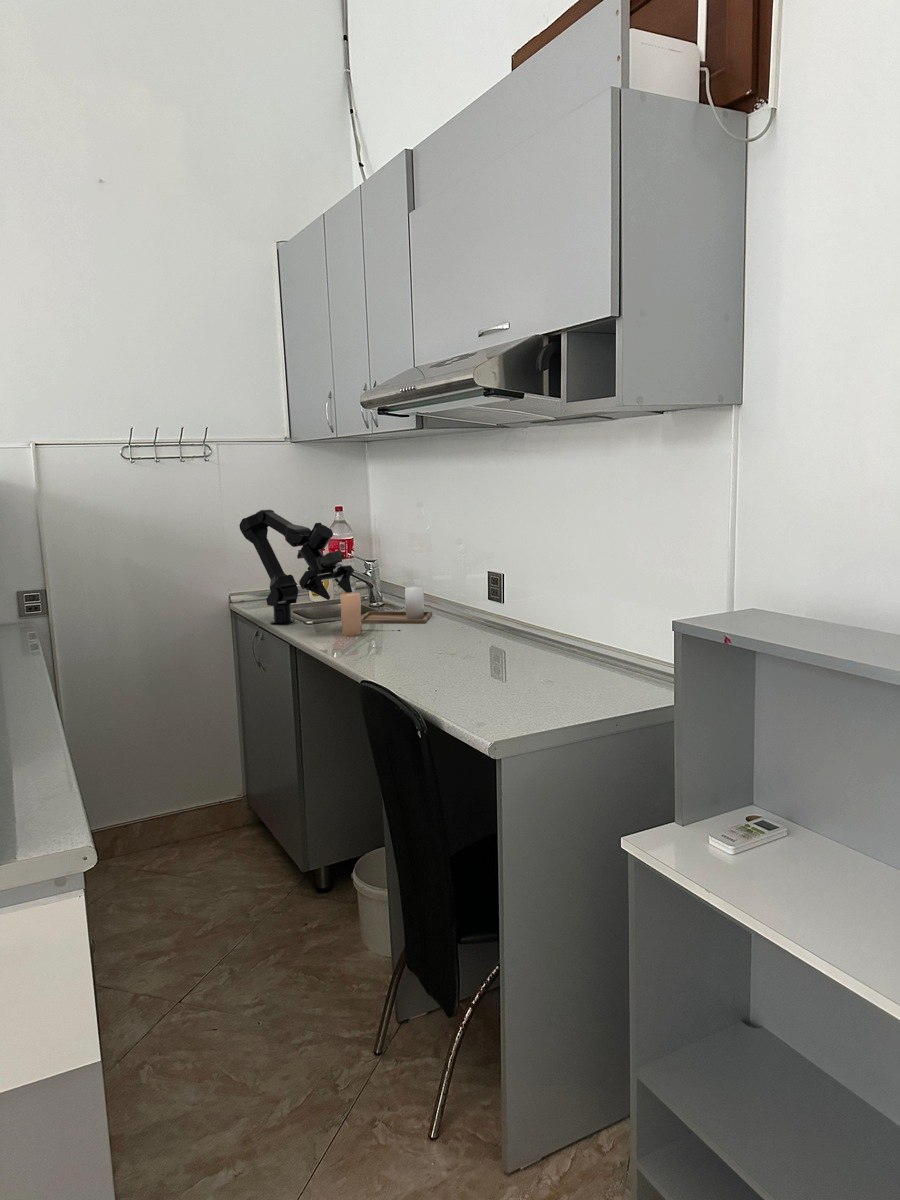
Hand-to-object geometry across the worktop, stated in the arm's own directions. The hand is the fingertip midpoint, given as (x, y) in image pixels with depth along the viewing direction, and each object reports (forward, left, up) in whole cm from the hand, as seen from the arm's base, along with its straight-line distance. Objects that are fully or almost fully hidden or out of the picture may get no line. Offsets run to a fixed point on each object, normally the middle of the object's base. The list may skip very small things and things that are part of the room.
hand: (340, 597), depth 269 cm
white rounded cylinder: (-20, +20, -10) cm, 30 cm away
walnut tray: (-17, +14, -11) cm, 25 cm away
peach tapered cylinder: (+3, +4, -11) cm, 12 cm away
